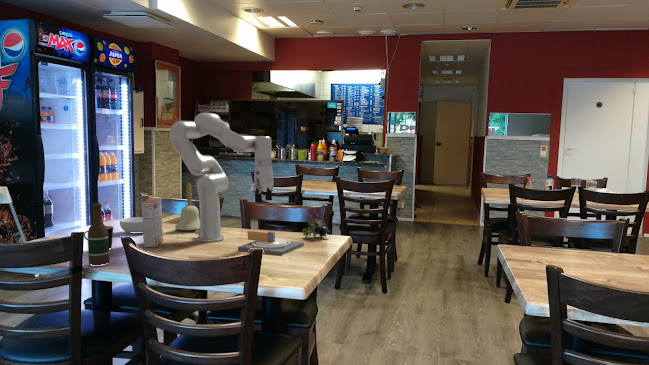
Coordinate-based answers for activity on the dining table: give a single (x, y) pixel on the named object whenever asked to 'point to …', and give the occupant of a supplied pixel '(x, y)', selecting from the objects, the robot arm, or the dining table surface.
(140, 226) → the cereal bowl
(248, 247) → the dial base
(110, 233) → the coffee mug
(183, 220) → the handbell
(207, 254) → the dining table surface
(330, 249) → the dining table surface
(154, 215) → the cracker box
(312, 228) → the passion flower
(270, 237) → the dial
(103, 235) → the beer bottle
